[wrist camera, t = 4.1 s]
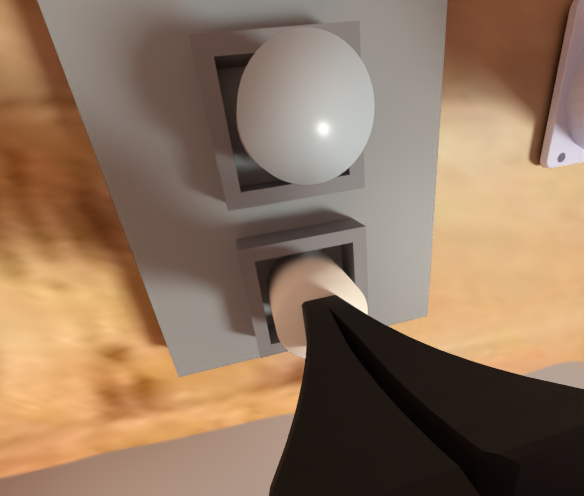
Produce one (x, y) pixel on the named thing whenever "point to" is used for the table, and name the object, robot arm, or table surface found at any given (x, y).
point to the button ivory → (306, 293)
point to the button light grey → (305, 106)
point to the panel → (242, 169)
